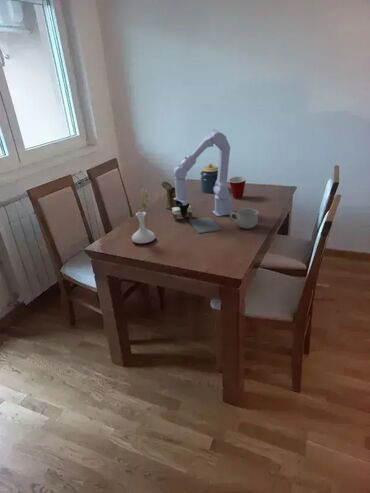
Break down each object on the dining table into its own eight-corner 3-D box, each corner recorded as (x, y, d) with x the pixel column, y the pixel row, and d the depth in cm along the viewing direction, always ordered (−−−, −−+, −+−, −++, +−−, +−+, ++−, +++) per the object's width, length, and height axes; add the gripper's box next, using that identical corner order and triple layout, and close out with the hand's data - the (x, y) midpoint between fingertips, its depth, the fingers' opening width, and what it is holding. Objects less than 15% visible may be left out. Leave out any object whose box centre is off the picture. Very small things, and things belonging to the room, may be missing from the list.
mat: (188, 221, 195) (188, 219, 194) (210, 217, 197) (210, 216, 197) (198, 233, 179) (198, 232, 179) (221, 230, 181) (221, 229, 181)
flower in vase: (146, 247, 168) (140, 195, 157) (127, 243, 174) (120, 192, 163) (162, 236, 178) (157, 187, 167) (143, 232, 184) (138, 184, 173)
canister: (199, 193, 236) (198, 166, 228) (202, 187, 248) (201, 161, 240) (220, 193, 234) (219, 166, 226) (221, 187, 245) (221, 161, 238)
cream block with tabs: (190, 215, 202) (189, 205, 199) (192, 218, 197) (192, 208, 195) (172, 218, 200) (171, 207, 197) (174, 221, 195) (174, 210, 193)
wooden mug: (159, 211, 210) (156, 181, 202) (169, 203, 221) (167, 174, 213) (173, 213, 207) (171, 182, 199) (183, 205, 218) (181, 175, 210)
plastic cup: (225, 197, 227) (225, 178, 222) (240, 193, 231) (240, 175, 226) (234, 201, 218) (234, 182, 213) (249, 198, 222) (250, 179, 217)
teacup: (259, 223, 186) (260, 208, 183) (256, 232, 177) (256, 216, 174) (232, 221, 191) (232, 207, 187) (228, 229, 182) (227, 214, 178)
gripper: (170, 186, 197) (172, 210, 203) (176, 194, 184) (178, 219, 190) (182, 185, 198) (184, 208, 204) (190, 192, 186) (191, 217, 192)
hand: (182, 213), depth 197 cm, fingers open, 7 cm apart
